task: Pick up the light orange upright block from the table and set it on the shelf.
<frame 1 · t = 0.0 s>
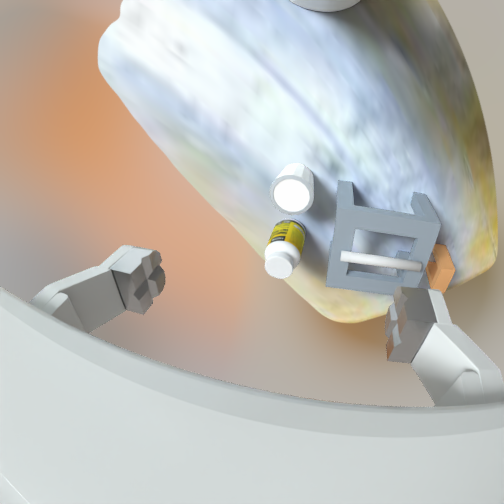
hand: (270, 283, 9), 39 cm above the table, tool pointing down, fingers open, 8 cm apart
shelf: (376, 224, 48), on the table
pill bottle: (290, 230, 54), on the table
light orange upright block: (434, 255, 48), on the table
shot glass: (297, 177, 47), on the table
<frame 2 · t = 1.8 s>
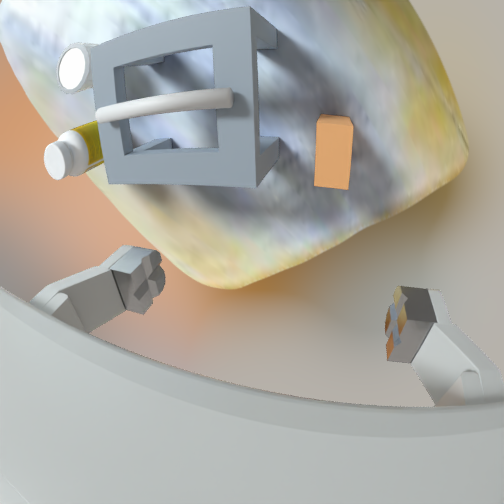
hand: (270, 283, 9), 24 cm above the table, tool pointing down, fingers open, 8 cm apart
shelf: (208, 94, 28), on the table
pill bottle: (112, 136, 35), on the table
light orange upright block: (333, 140, 28), on the table
shot glass: (108, 64, 28), on the table
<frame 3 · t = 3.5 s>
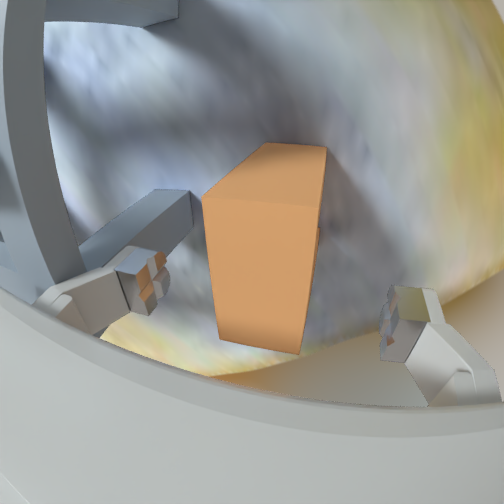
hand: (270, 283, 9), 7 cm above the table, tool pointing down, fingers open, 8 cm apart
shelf: (82, 120, 15), on the table
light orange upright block: (294, 196, 15), on the table
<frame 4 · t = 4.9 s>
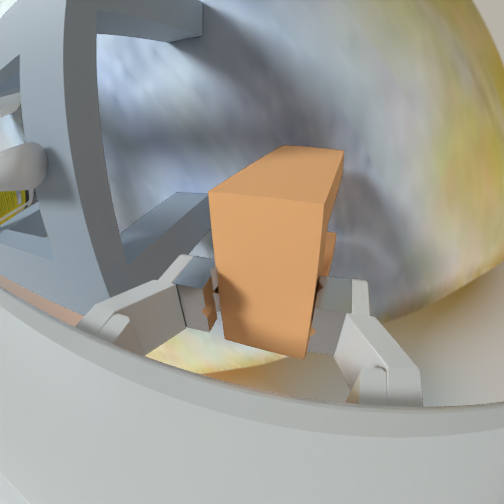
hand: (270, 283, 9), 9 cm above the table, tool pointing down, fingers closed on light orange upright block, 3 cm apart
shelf: (107, 125, 17), on the table
pill bottle: (23, 180, 23), on the table
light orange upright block: (310, 200, 14), point 2 cm above the table, touching gripper
shot glass: (15, 87, 17), on the table
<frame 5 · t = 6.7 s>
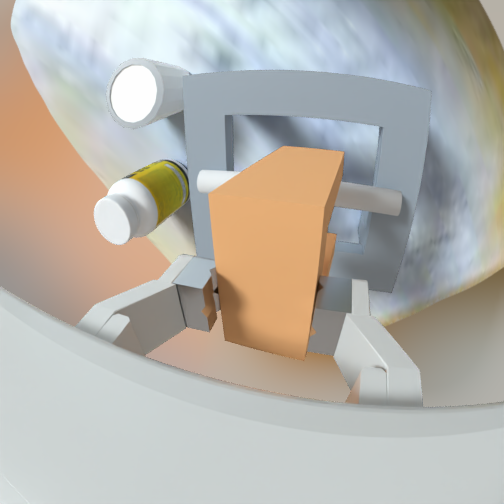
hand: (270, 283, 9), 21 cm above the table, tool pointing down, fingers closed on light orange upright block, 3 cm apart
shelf: (311, 155, 26), on the table
pill bottle: (172, 181, 32), on the table
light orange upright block: (311, 201, 14), point 14 cm above the table, touching gripper
shot glass: (172, 89, 26), on the table
when the fingers open (13 cm above the table, at t = 8.5 s): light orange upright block moves 1 cm, resting on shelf.
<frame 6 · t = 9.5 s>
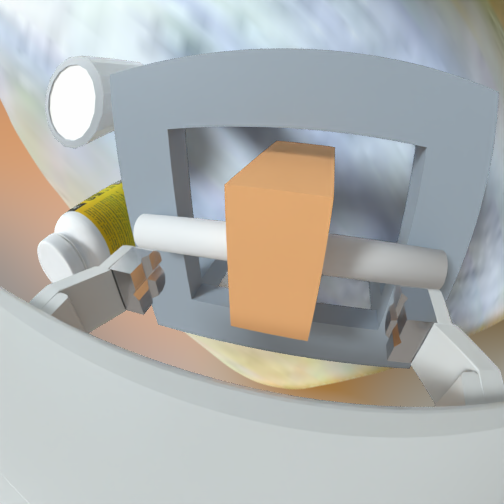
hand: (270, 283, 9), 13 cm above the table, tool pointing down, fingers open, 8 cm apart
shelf: (309, 173, 20), on the table
pill bottle: (137, 205, 26), on the table
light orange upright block: (301, 193, 15), point 6 cm above the table, touching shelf
shot glass: (131, 91, 20), on the table
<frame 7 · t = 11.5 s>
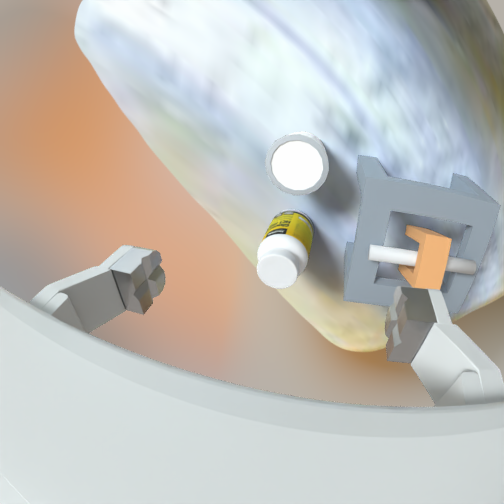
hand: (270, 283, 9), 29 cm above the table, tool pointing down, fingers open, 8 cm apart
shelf: (406, 217, 34), on the table
pill bottle: (292, 227, 41), on the table
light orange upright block: (413, 249, 31), point 6 cm above the table, tilted 19°, touching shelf
shot glass: (303, 152, 35), on the table
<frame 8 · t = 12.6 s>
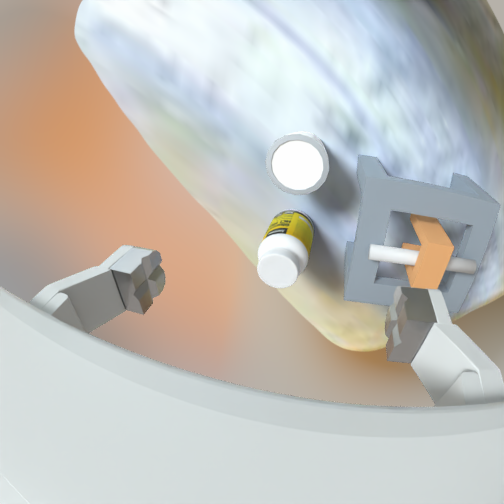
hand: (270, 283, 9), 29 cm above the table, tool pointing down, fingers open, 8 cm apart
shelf: (407, 216, 35), on the table
pill bottle: (293, 226, 41), on the table
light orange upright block: (417, 233, 30), point 6 cm above the table, touching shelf
shot glass: (303, 151, 35), on the table
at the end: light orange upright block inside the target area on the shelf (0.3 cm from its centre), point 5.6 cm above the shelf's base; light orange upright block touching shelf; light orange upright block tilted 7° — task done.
